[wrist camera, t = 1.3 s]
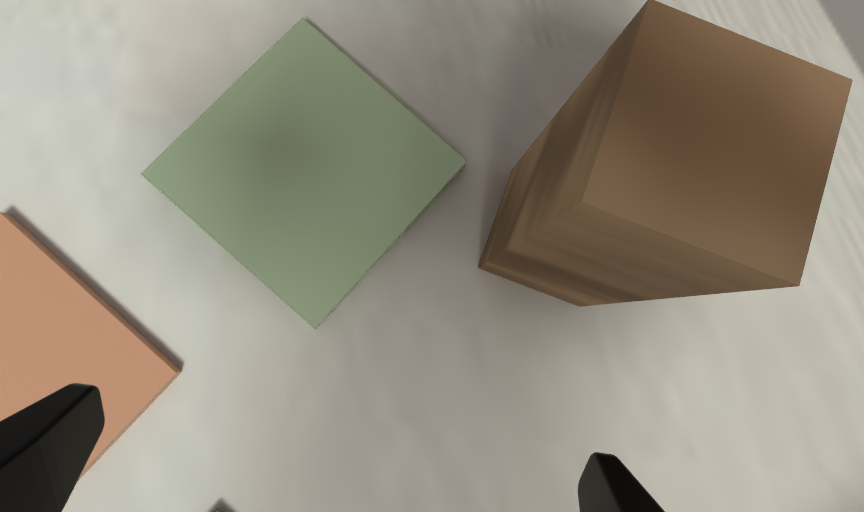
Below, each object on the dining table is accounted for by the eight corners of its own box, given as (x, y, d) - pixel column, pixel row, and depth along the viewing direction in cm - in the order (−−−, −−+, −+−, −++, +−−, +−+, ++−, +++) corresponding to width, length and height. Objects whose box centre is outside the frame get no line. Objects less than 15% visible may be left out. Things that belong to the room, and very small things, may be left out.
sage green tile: (463, 168, 25) (466, 160, 24) (318, 328, 23) (314, 328, 22) (306, 31, 25) (302, 17, 24) (153, 181, 24) (140, 173, 23)
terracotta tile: (187, 370, 23) (176, 372, 22) (6, 560, 21) (-16, 574, 20) (18, 217, 23) (-2, 211, 22) (-172, 394, 22) (-205, 399, 20)
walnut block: (579, 306, 24) (799, 286, 11) (477, 267, 24) (581, 202, 11) (612, 206, 25) (852, 80, 12) (513, 168, 25) (649, -2, 12)
